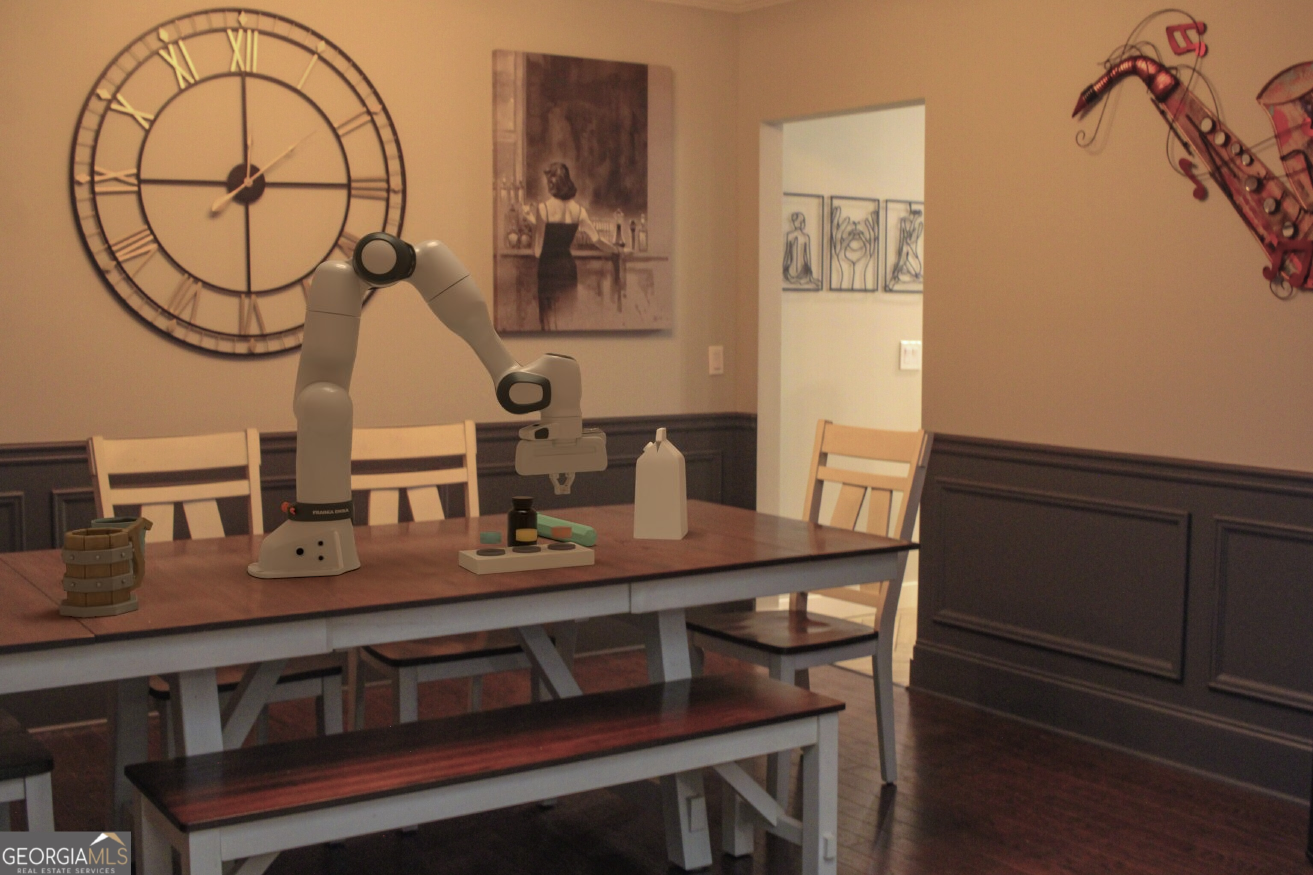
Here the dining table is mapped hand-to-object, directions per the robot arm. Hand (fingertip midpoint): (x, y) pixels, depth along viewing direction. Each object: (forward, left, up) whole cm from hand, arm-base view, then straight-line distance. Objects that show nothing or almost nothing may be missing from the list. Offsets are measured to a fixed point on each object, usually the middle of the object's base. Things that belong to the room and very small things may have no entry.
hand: (562, 493), depth 274 cm
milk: (+36, +23, -15) cm, 45 cm away
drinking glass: (-86, +21, -15) cm, 90 cm away
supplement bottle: (-2, +18, -15) cm, 24 cm away
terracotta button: (0, 0, -9) cm, 9 cm away
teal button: (-16, 0, -9) cm, 19 cm away
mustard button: (-8, 0, -9) cm, 12 cm away
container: (+11, +27, -15) cm, 33 cm away
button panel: (-8, 0, -15) cm, 17 cm away
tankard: (-89, -5, -15) cm, 91 cm away
